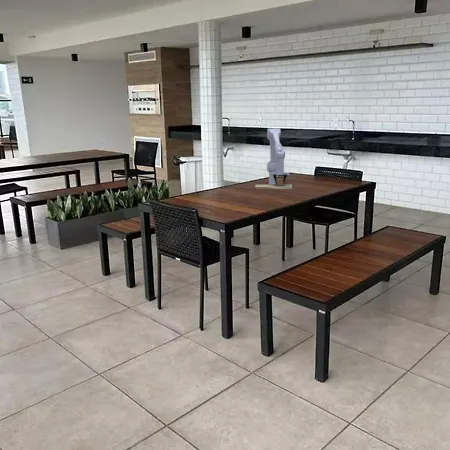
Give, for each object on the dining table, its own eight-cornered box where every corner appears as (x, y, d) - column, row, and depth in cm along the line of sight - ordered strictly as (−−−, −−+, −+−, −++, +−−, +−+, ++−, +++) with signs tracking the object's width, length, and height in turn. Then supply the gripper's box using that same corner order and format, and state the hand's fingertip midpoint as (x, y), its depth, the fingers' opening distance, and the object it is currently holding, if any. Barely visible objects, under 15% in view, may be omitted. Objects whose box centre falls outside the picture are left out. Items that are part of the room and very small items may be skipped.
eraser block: (276, 184, 370) (276, 176, 369) (283, 184, 370) (283, 176, 368) (276, 185, 364) (276, 178, 362) (283, 185, 363) (283, 178, 362)
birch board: (255, 186, 374) (255, 184, 374) (291, 186, 371) (291, 184, 371) (255, 189, 364) (255, 187, 364) (291, 188, 362) (292, 186, 361)
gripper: (270, 167, 360) (270, 185, 364) (289, 167, 359) (289, 185, 362) (270, 166, 367) (270, 183, 370) (289, 166, 365) (289, 183, 369)
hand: (279, 184), depth 367 cm, fingers closed on eraser block, 5 cm apart
